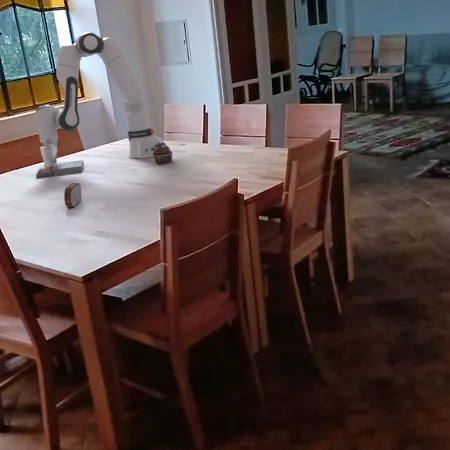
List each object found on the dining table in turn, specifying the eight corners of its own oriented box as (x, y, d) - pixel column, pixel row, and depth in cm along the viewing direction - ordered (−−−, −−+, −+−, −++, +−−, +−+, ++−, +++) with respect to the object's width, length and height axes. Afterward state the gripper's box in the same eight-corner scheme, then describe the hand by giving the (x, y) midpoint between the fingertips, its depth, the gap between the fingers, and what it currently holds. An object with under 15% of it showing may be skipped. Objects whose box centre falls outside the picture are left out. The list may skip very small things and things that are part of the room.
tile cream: (40, 167, 332) (41, 171, 333) (39, 169, 329) (40, 172, 329) (48, 166, 333) (49, 170, 334) (47, 167, 329) (48, 171, 330)
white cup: (60, 162, 355) (56, 144, 352) (55, 165, 347) (51, 147, 344) (46, 163, 356) (43, 145, 353) (41, 166, 348) (37, 148, 345)
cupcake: (172, 163, 317) (169, 143, 313) (153, 165, 317) (150, 145, 314) (174, 159, 326) (171, 140, 323) (155, 161, 326) (152, 142, 323)
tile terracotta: (50, 165, 325) (46, 165, 325) (49, 166, 321) (45, 167, 321) (51, 172, 326) (47, 173, 326) (50, 174, 323) (46, 174, 323)
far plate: (84, 165, 338) (83, 159, 337) (82, 171, 322) (81, 166, 322) (57, 169, 336) (56, 163, 335) (54, 175, 321) (52, 169, 320)
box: (56, 169, 336) (55, 165, 335) (53, 175, 321) (52, 172, 320) (40, 171, 335) (39, 167, 334) (36, 178, 320) (36, 174, 319)
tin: (77, 200, 268) (73, 180, 266) (84, 199, 268) (80, 179, 265) (65, 210, 254) (61, 190, 252) (73, 210, 254) (69, 189, 251)
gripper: (53, 140, 314) (58, 167, 318) (57, 133, 333) (62, 160, 337) (39, 142, 313) (45, 169, 317) (44, 135, 332) (49, 161, 336)
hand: (54, 164), depth 327 cm, fingers open, 8 cm apart
